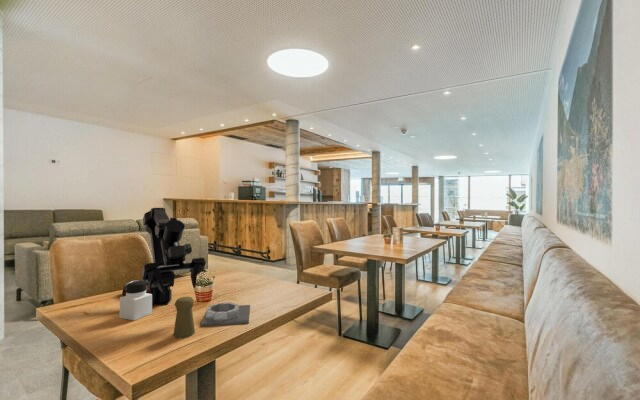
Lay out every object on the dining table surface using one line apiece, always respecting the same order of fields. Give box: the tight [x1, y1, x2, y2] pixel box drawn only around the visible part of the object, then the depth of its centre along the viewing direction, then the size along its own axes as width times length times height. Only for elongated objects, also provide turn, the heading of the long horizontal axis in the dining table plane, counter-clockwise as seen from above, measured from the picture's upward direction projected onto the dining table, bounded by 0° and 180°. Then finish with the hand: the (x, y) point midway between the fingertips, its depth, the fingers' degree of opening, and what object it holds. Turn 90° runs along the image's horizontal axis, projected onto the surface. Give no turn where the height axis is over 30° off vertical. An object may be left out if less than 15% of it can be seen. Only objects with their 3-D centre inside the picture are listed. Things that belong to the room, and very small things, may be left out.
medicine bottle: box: [119, 279, 153, 322], centre depth 106 cm, size 7×7×12 cm
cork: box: [173, 296, 196, 339], centre depth 92 cm, size 6×6×11 cm
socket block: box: [200, 301, 251, 327], centre depth 106 cm, size 15×15×4 cm
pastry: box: [121, 279, 151, 296], centre depth 131 cm, size 11×12×6 cm
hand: (179, 290), depth 96 cm, fingers open, 9 cm apart
